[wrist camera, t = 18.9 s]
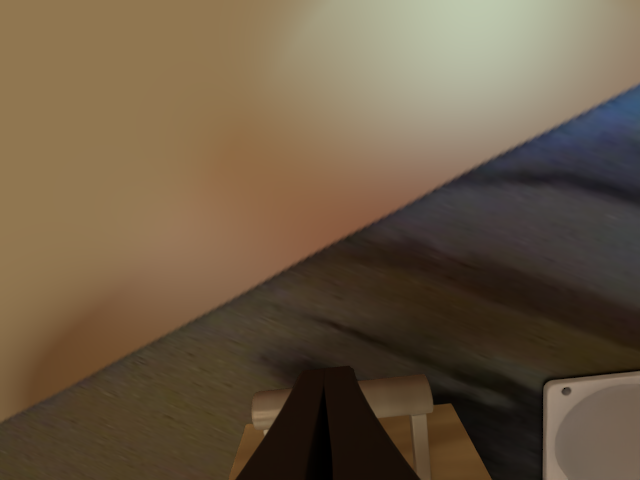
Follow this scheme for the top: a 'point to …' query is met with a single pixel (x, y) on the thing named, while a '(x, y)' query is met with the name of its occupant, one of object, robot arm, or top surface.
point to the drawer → (391, 428)
